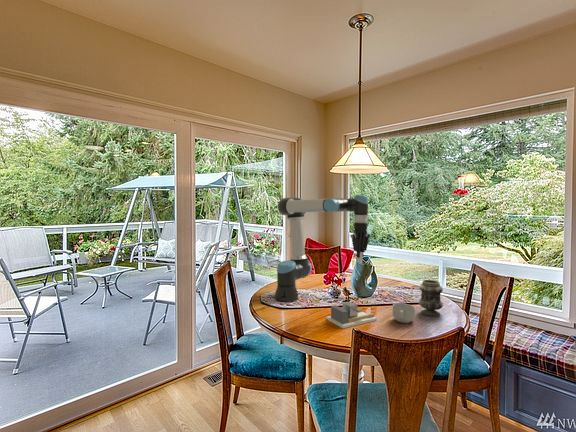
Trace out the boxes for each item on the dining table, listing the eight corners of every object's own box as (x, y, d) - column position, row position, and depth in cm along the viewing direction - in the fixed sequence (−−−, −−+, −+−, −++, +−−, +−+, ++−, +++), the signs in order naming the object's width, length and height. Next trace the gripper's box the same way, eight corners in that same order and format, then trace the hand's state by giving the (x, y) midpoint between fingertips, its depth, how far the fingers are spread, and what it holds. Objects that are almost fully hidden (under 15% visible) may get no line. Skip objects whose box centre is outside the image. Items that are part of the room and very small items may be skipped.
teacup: (396, 315, 166) (397, 301, 166) (417, 320, 159) (417, 305, 159) (386, 323, 156) (387, 307, 155) (408, 329, 149) (409, 312, 148)
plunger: (342, 316, 162) (342, 302, 161) (350, 314, 164) (350, 301, 164) (355, 322, 153) (355, 308, 152) (363, 320, 155) (363, 307, 155)
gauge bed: (326, 318, 162) (326, 305, 161) (358, 311, 172) (358, 299, 172) (343, 328, 149) (343, 313, 149) (376, 320, 160) (376, 306, 160)
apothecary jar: (440, 310, 173) (440, 279, 173) (444, 318, 162) (445, 284, 161) (417, 308, 177) (417, 277, 176) (420, 316, 165) (420, 283, 164)
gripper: (355, 223, 169) (355, 265, 171) (374, 222, 175) (372, 263, 176) (347, 222, 176) (346, 262, 177) (365, 221, 182) (364, 260, 183)
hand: (359, 263), depth 177 cm, fingers closed
